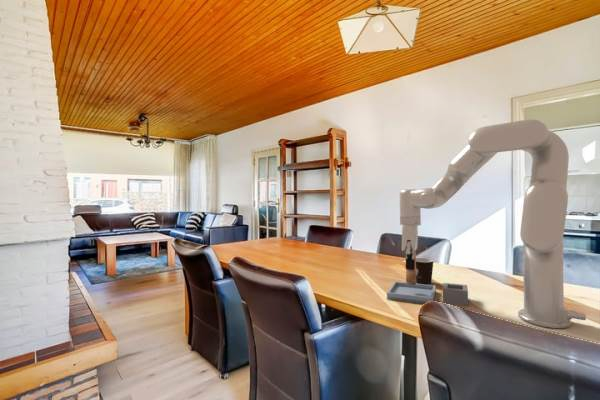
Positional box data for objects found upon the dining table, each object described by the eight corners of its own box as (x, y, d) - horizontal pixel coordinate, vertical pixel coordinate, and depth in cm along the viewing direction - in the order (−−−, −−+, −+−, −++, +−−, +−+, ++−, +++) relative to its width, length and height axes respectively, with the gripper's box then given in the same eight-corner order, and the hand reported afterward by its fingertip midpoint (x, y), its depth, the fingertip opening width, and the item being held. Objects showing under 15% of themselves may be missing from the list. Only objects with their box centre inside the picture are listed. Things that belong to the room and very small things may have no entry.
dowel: (416, 282, 120) (416, 252, 120) (415, 285, 117) (415, 254, 117) (406, 281, 122) (406, 251, 121) (405, 284, 118) (405, 253, 118)
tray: (435, 291, 123) (435, 285, 123) (433, 305, 108) (432, 298, 108) (394, 287, 130) (394, 281, 130) (387, 299, 116) (386, 292, 116)
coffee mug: (436, 285, 130) (435, 262, 130) (414, 285, 132) (414, 262, 132) (430, 278, 142) (429, 256, 142) (410, 277, 143) (410, 256, 143)
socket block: (467, 298, 114) (467, 285, 114) (468, 305, 107) (467, 291, 107) (443, 295, 118) (443, 282, 118) (442, 302, 111) (442, 288, 110)
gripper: (403, 219, 128) (404, 262, 128) (396, 222, 113) (397, 272, 113) (422, 219, 124) (423, 264, 125) (418, 223, 110) (419, 274, 110)
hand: (410, 267), depth 119 cm, fingers closed on dowel, 3 cm apart
